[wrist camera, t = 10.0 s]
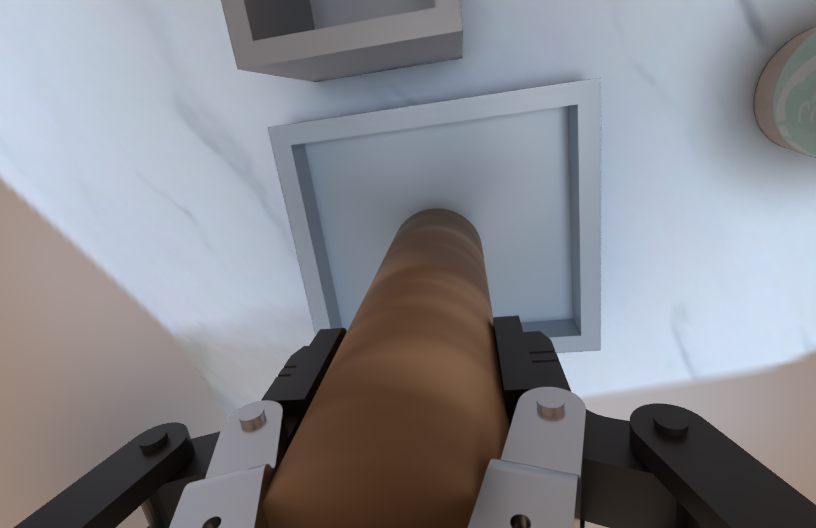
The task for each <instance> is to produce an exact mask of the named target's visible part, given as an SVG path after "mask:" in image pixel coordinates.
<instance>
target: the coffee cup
mask: <svg viewBox="0 0 816 528" xmlns="http://www.w3.org/2000/svg"><path fill="white" fill-rule="evenodd" d="M754 110H755V116H756V120H757V122H758V125H759V127H760V128H761V130H762V131H763V133H764V134H765V135H766V136H767V137H768V138H769V139H770V140H771V141H773V142H774V143H776V144H778V145H780V146H782V147H785V148H788V149H791V150H794V151H797V152H800V153H803V154H806V155H809V156H812V157H815V158H816V27H814V28H811V29H809V30H807V31H805V32H803V33H801V34H799V35H798V36H796V37H794V38H793V39H791V40H790V41H789V42H788V43H786V44H785V45H784V46H783V47H782V48H781V49H780V50H779V51H778V52H777V53H776V54H775V55H774V56H773V57H772V59H771V60H770V61H769V63H768V64H767V66H766V67H765V69H764V71H763V73H762V75H761V77H760V79H759V81H758V84H757V87H756V92H755V98H754Z"/></svg>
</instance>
